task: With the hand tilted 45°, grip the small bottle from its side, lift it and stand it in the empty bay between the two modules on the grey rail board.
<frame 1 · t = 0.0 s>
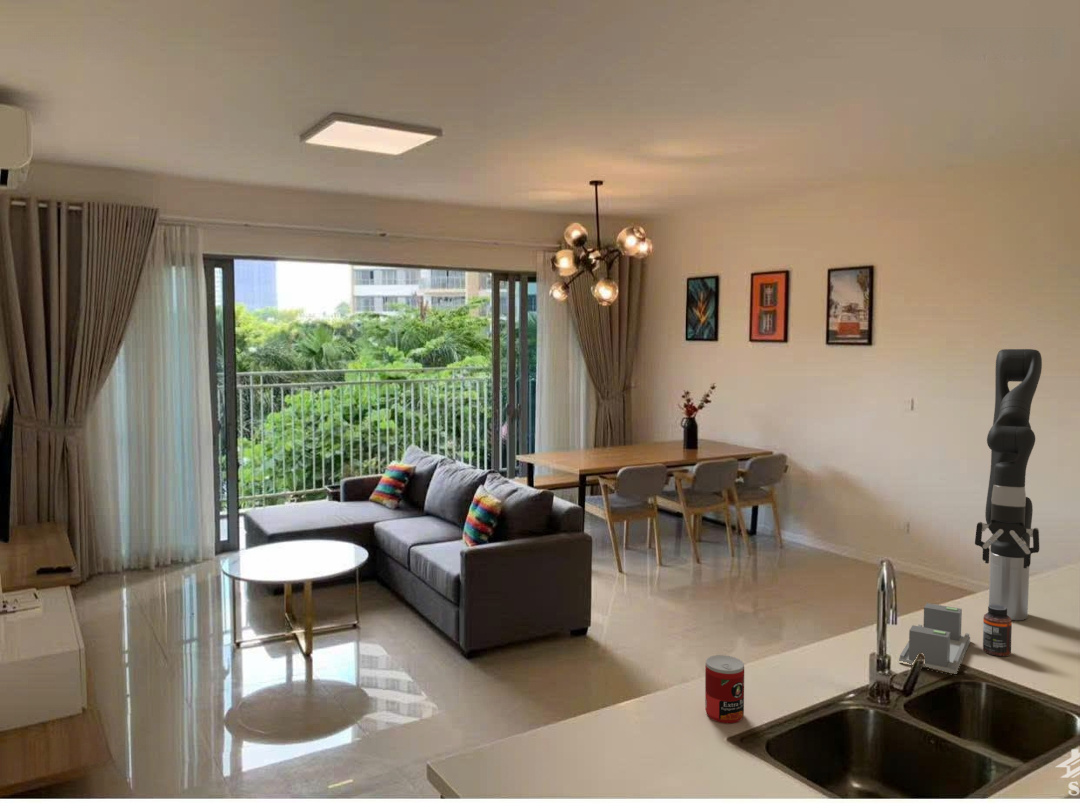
hand: (1005, 565, 202), 17 cm above the counter, tool pointing down, fingers open, 8 cm apart
supplement bottle: (996, 653, 189), on the counter
canned food: (724, 715, 159), on the counter
rail board: (935, 652, 190), on the counter
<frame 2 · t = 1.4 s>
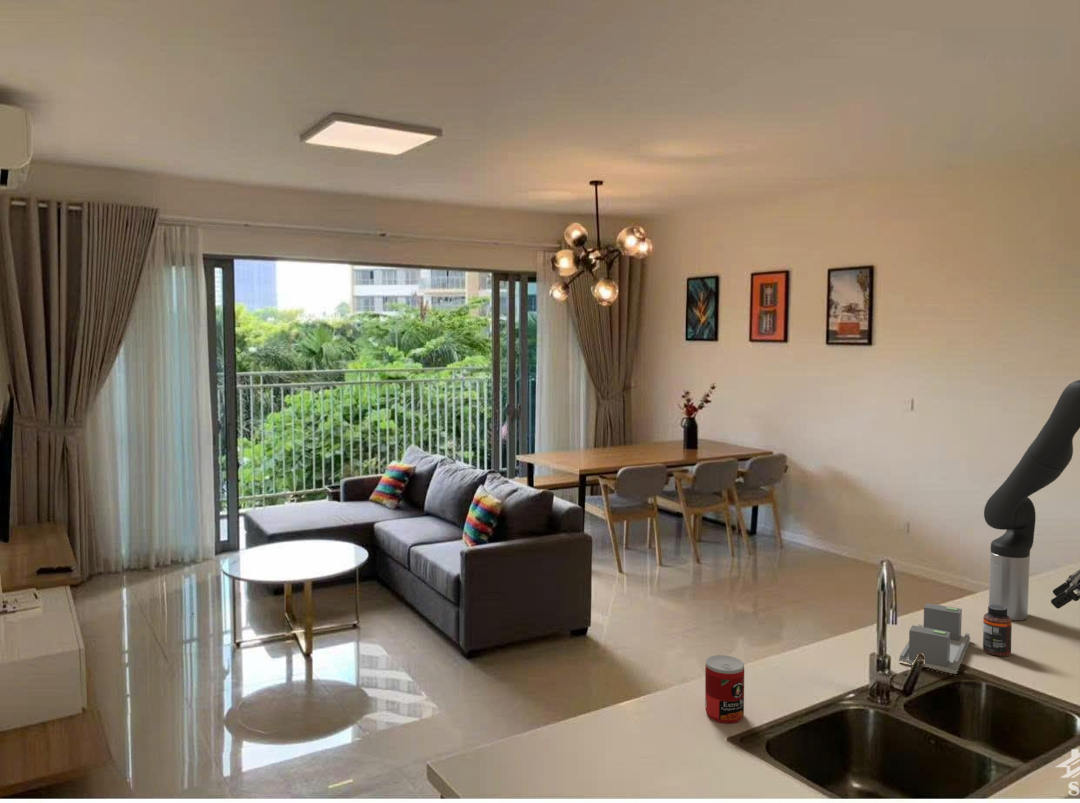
hand: (1054, 600, 181), 15 cm above the counter, tool tilted 45°, fingers open, 8 cm apart
nothing on the counter moved.
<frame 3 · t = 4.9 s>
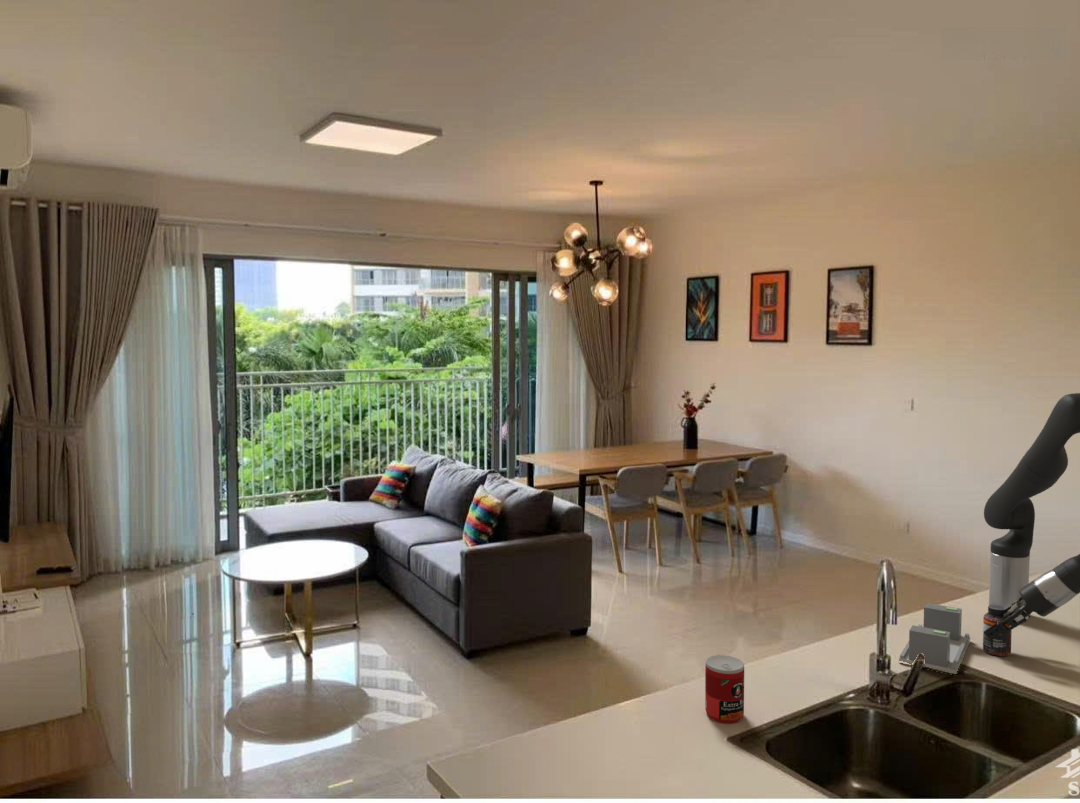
hand: (988, 631, 190), 5 cm above the counter, tool tilted 45°, fingers closed on supplement bottle, 6 cm apart
supplement bottle: (996, 653, 189), on the counter, touching gripper
everything else where it was.
when the fingers open (7 cm above the counter, at t = 9.7 s): supplement bottle drops 1 cm, resting on rail board.
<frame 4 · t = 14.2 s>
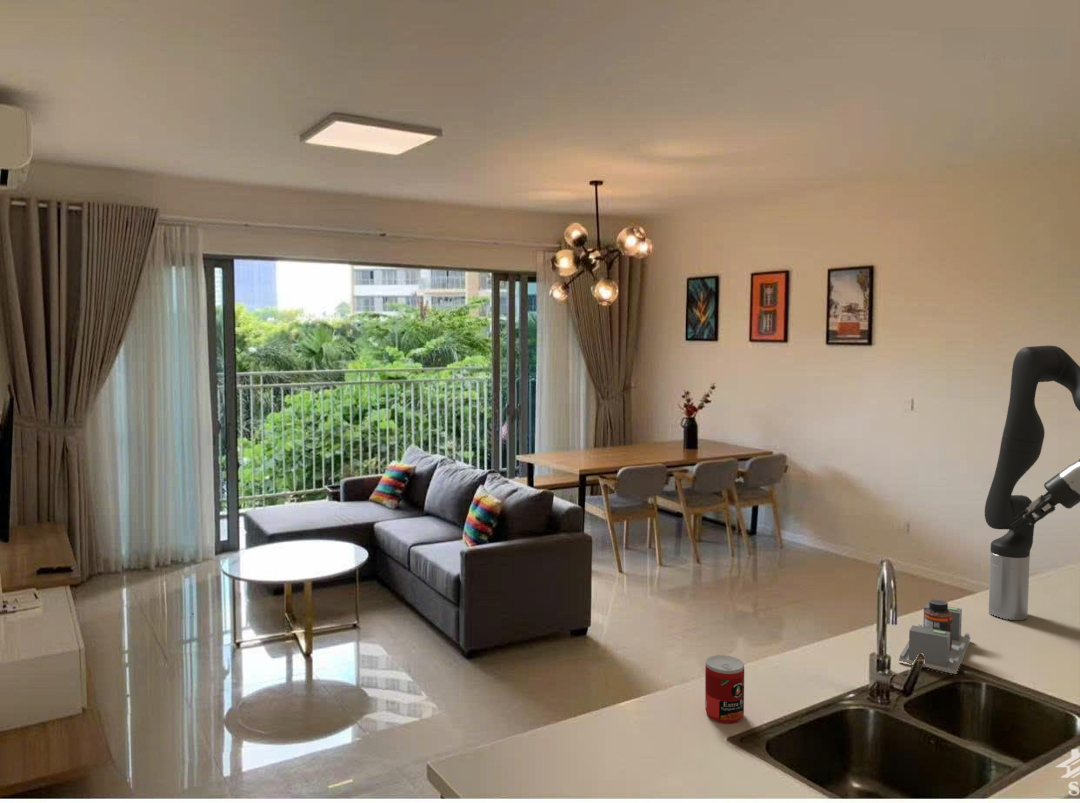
hand: (1014, 526, 188), 31 cm above the counter, tool tilted 45°, fingers open, 8 cm apart
supplement bottle: (937, 648, 189), point 1 cm above the counter, touching rail board
everything else where it was.
at the end: supplement bottle inside the target area on the rail board (0.4 cm from its centre), point 1.0 cm above the rail board's base; supplement bottle tilted 0°; the gripper is holding nothing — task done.
